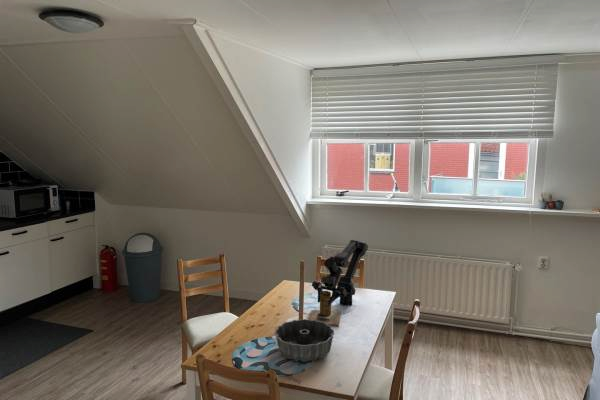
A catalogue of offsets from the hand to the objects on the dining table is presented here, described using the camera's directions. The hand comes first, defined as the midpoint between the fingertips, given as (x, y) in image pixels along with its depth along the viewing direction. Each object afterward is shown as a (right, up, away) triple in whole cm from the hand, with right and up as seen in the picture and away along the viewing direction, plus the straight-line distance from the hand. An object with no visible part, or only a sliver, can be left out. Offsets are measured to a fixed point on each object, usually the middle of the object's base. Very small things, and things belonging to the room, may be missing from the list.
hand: (323, 303), depth 228 cm
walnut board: (+1, -9, +2) cm, 9 cm away
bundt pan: (-10, -14, -32) cm, 36 cm away
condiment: (+1, -7, +2) cm, 7 cm away
